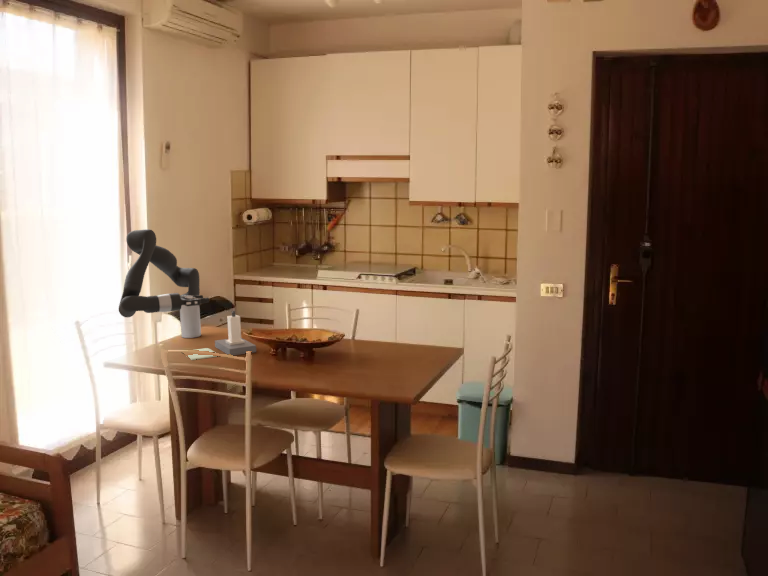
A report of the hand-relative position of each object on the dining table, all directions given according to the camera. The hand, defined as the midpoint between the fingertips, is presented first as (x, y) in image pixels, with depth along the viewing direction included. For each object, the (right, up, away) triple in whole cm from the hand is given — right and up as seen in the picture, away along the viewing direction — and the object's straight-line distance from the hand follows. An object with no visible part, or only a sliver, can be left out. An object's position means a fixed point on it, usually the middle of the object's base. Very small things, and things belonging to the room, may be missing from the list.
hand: (205, 298), depth 336 cm
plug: (+11, -23, +10) cm, 27 cm away
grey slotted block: (+11, -23, +10) cm, 27 cm away
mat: (-3, -24, +2) cm, 24 cm away
